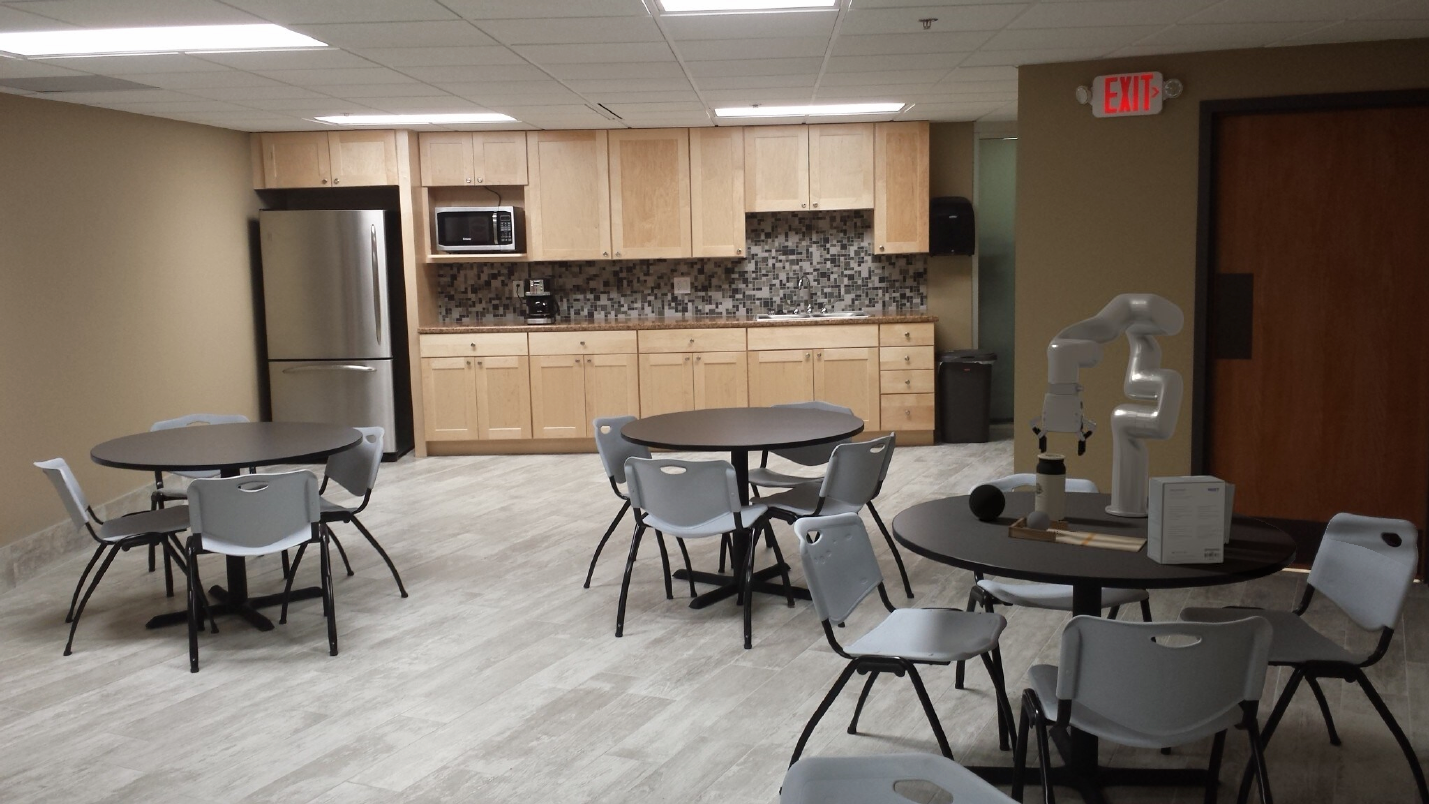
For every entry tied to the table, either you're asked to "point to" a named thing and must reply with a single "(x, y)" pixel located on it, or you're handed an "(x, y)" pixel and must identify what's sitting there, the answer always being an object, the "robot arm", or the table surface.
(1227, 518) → the skincare box
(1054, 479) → the travel mug
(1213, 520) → the hard drive box
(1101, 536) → the mat
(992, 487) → the decorative ball
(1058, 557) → the table surface
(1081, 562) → the table surface
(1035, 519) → the rubber ball
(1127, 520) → the table surface
